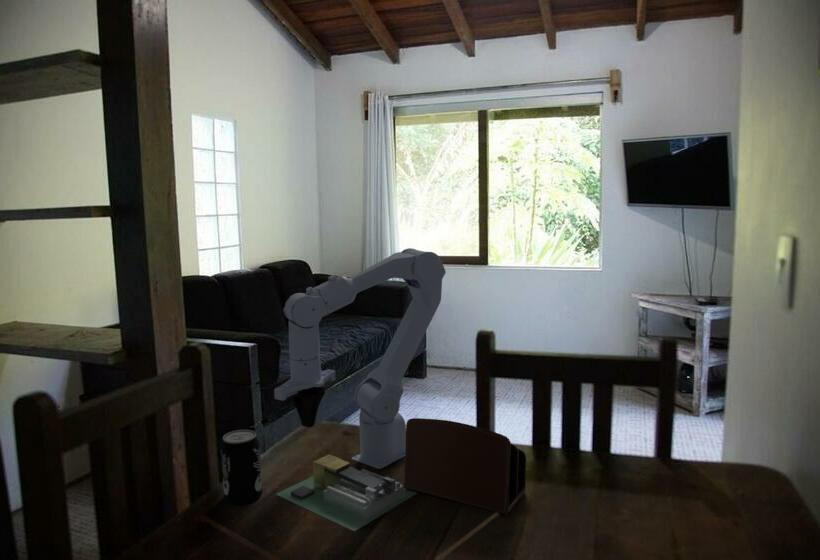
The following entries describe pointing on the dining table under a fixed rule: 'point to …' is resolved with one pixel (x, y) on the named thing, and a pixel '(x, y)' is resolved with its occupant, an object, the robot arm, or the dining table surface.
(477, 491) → the letter holder
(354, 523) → the board
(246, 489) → the beverage can
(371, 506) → the block
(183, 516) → the dining table surface
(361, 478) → the strap
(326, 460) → the keeper
